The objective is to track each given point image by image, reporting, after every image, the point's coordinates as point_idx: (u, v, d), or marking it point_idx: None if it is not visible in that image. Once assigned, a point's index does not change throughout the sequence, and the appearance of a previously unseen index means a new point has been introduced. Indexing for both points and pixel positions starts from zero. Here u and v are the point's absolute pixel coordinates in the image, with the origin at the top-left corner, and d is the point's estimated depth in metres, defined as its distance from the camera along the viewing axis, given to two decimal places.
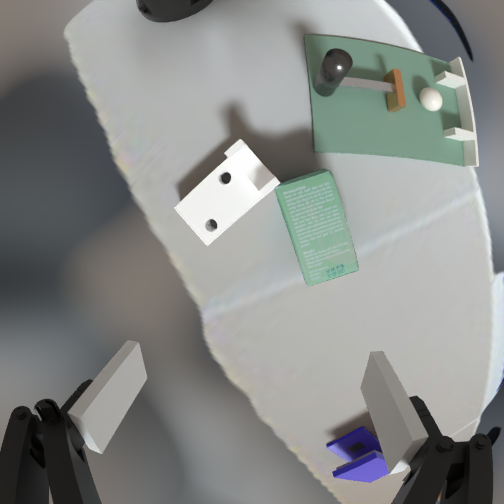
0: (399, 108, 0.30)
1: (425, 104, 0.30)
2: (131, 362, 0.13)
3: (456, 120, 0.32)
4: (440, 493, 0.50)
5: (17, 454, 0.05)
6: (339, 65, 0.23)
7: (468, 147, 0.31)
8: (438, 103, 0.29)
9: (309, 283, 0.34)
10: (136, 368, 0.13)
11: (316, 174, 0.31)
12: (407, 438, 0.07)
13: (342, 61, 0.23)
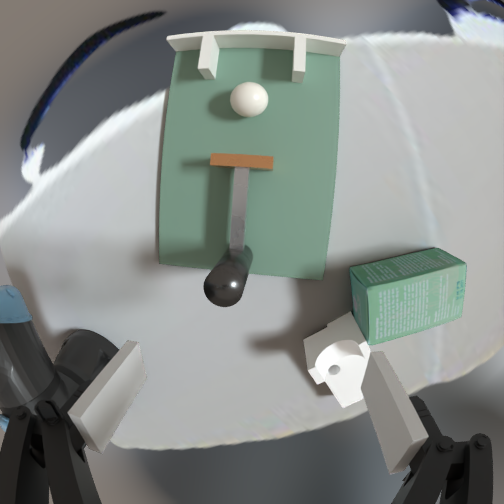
0: None
1: (260, 112, 0.25)
2: (131, 361, 0.13)
3: (272, 55, 0.25)
4: None
5: (17, 454, 0.05)
6: (233, 291, 0.22)
7: (315, 47, 0.23)
8: (258, 92, 0.24)
9: (459, 315, 0.25)
10: (136, 368, 0.13)
11: (367, 304, 0.25)
12: (407, 438, 0.07)
13: (226, 285, 0.22)
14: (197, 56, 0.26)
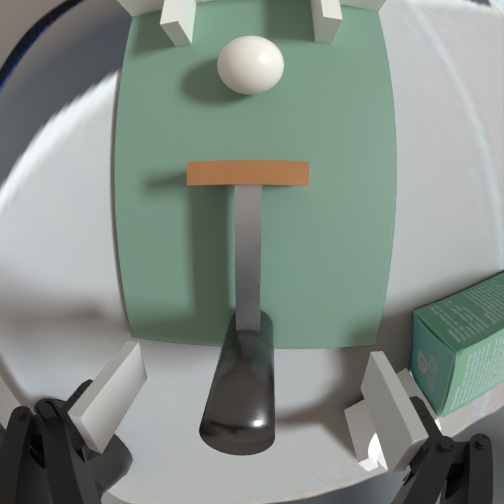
0: None
1: (273, 83, 0.13)
2: (131, 362, 0.13)
3: (279, 6, 0.14)
4: None
5: (17, 454, 0.05)
6: (257, 439, 0.09)
7: None
8: (268, 48, 0.12)
9: None
10: (136, 368, 0.13)
11: (451, 373, 0.13)
12: (407, 438, 0.07)
13: (242, 432, 0.09)
14: None
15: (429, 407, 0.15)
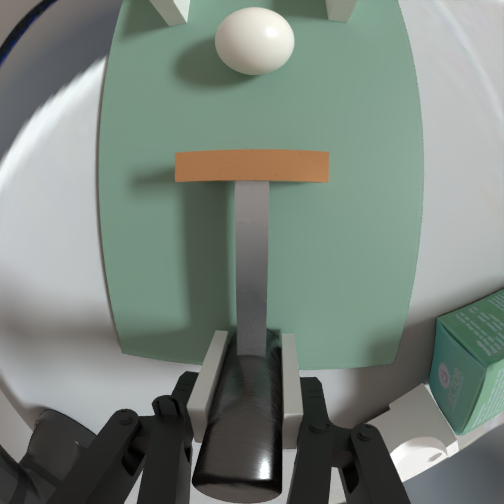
0: None
1: (281, 61, 0.11)
2: (224, 350, 0.15)
3: None
4: None
5: (104, 462, 0.06)
6: (261, 491, 0.07)
7: None
8: (275, 20, 0.09)
9: None
10: None
11: (479, 390, 0.10)
12: (284, 411, 0.10)
13: (243, 486, 0.07)
14: None
15: (448, 428, 0.12)
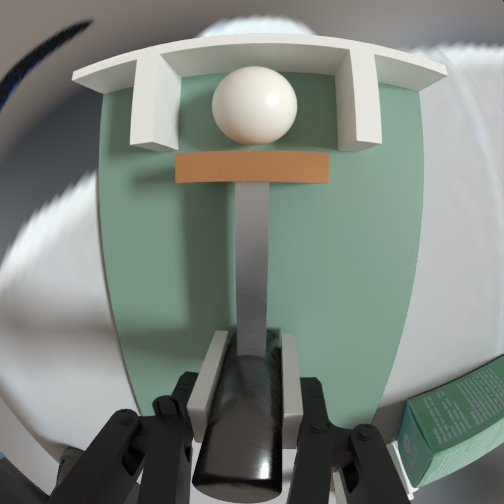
0: None
1: (282, 77, 0.10)
2: (224, 350, 0.15)
3: (293, 88, 0.13)
4: None
5: (105, 462, 0.06)
6: (261, 491, 0.07)
7: (382, 72, 0.11)
8: None
9: None
10: None
11: (428, 465, 0.12)
12: (284, 411, 0.10)
13: (243, 486, 0.07)
14: None
15: (404, 483, 0.14)
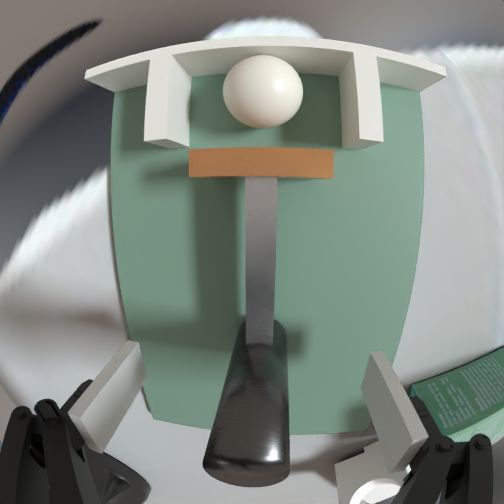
0: None
1: None
2: (131, 361, 0.13)
3: None
4: None
5: (17, 454, 0.05)
6: (269, 473, 0.07)
7: (384, 73, 0.11)
8: None
9: None
10: (136, 368, 0.13)
11: None
12: (407, 438, 0.07)
13: (252, 468, 0.07)
14: None
15: (406, 474, 0.15)
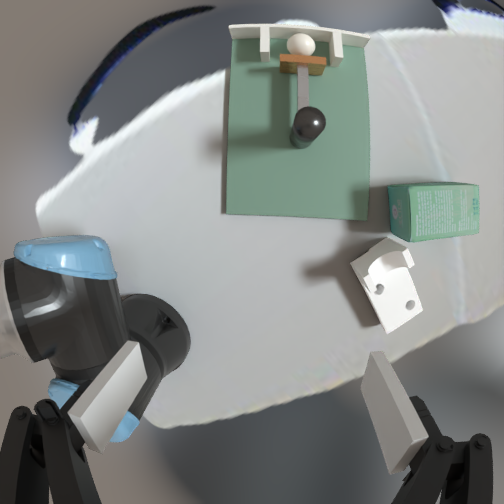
0: None
1: (310, 37, 0.28)
2: (131, 362, 0.13)
3: None
4: None
5: (17, 454, 0.05)
6: (318, 122, 0.24)
7: (346, 40, 0.28)
8: None
9: (477, 231, 0.29)
10: (136, 368, 0.13)
11: (409, 201, 0.29)
12: (407, 438, 0.07)
13: (313, 117, 0.24)
14: (251, 43, 0.31)
15: (402, 246, 0.32)
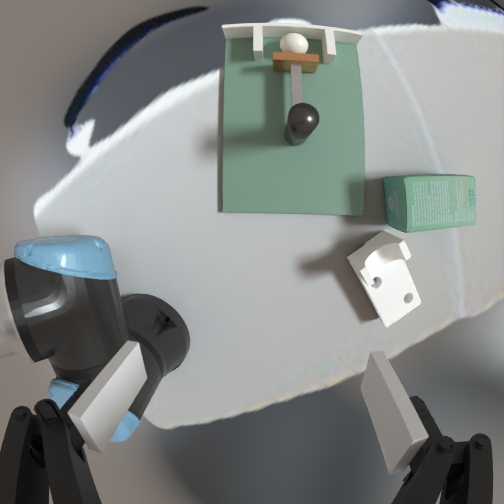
0: None
1: (303, 36, 0.28)
2: (131, 361, 0.13)
3: None
4: None
5: (17, 454, 0.05)
6: (312, 118, 0.25)
7: (338, 37, 0.29)
8: None
9: (474, 222, 0.29)
10: (136, 368, 0.13)
11: (404, 191, 0.29)
12: (407, 438, 0.07)
13: (306, 114, 0.25)
14: (245, 43, 0.31)
15: (398, 238, 0.32)
